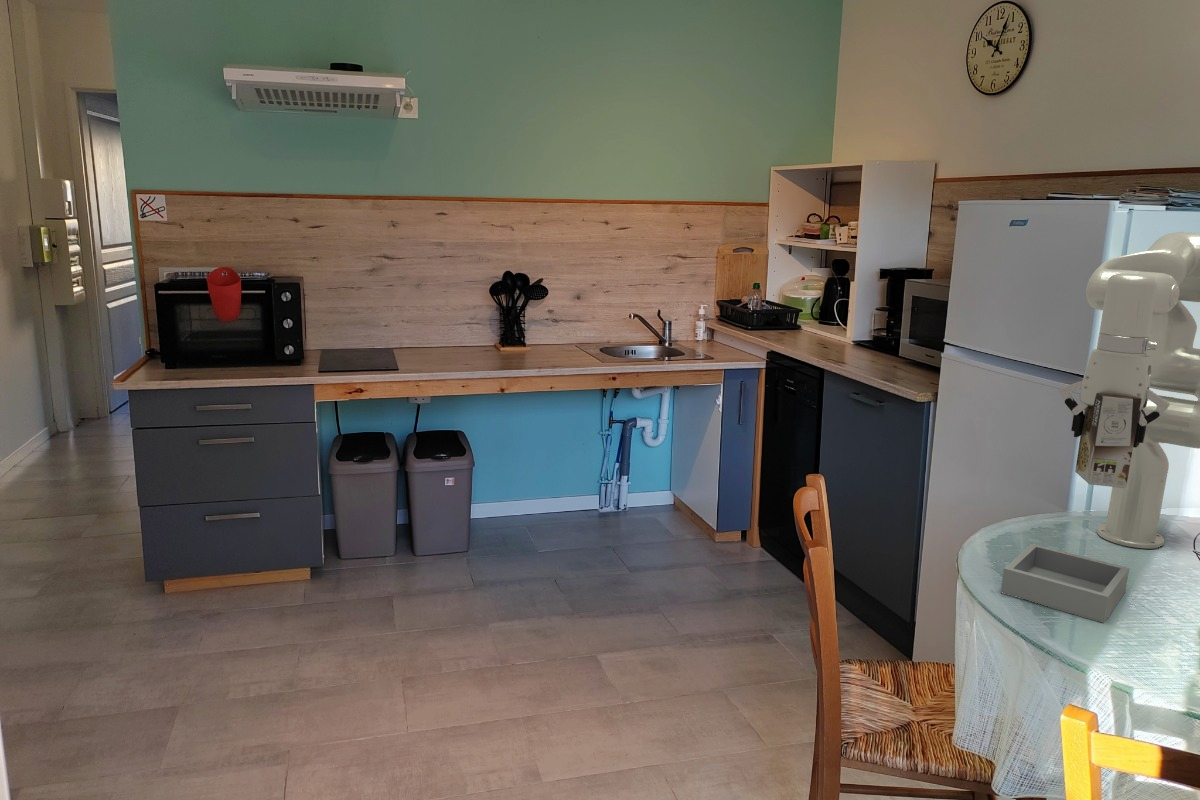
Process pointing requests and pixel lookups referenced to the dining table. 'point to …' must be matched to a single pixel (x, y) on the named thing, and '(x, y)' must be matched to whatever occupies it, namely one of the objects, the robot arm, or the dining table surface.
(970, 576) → the dining table surface
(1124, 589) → the grey bin
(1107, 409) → the coffee box
